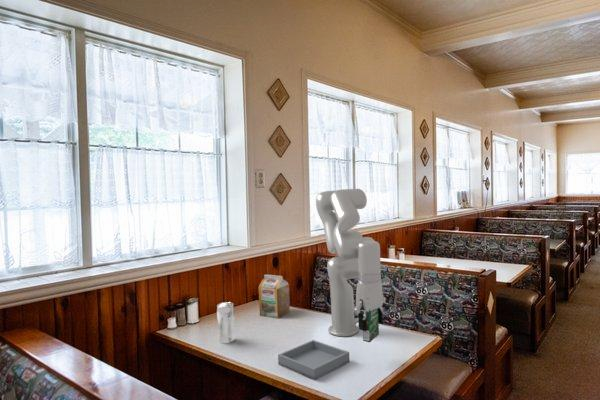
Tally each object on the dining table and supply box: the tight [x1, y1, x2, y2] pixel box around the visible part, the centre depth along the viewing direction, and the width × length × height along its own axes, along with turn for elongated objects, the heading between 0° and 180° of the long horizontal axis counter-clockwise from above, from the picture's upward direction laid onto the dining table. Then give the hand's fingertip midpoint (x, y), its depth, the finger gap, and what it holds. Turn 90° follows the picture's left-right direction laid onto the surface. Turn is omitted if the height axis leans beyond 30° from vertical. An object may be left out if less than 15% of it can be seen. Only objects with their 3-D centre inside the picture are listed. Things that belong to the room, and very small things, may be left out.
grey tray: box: [277, 339, 351, 381], centre depth 144 cm, size 18×18×4 cm
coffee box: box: [362, 306, 380, 343], centre depth 143 cm, size 8×3×13 cm, turn 146°
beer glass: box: [216, 301, 236, 344], centre depth 169 cm, size 7×7×15 cm
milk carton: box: [258, 274, 291, 319], centre depth 201 cm, size 11×11×19 cm
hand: (370, 326), depth 143 cm, fingers closed on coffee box, 8 cm apart
